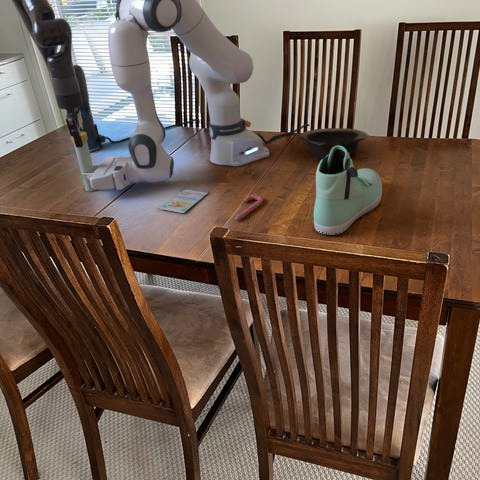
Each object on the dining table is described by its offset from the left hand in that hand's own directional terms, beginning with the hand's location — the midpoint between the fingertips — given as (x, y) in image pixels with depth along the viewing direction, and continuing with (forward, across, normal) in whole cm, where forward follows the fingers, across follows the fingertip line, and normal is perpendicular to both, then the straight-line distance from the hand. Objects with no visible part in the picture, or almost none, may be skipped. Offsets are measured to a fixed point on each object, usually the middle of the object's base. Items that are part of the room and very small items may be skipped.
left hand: (80, 143), depth 155 cm
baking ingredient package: (+16, +19, +30) cm, 40 cm away
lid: (-3, 0, 0) cm, 3 cm away
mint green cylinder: (+16, 0, 0) cm, 16 cm away
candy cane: (+16, +30, +49) cm, 60 cm away
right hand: (+10, 0, -1) cm, 10 cm away
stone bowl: (+16, -4, +86) cm, 88 cm away
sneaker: (+16, +38, +77) cm, 88 cm away
